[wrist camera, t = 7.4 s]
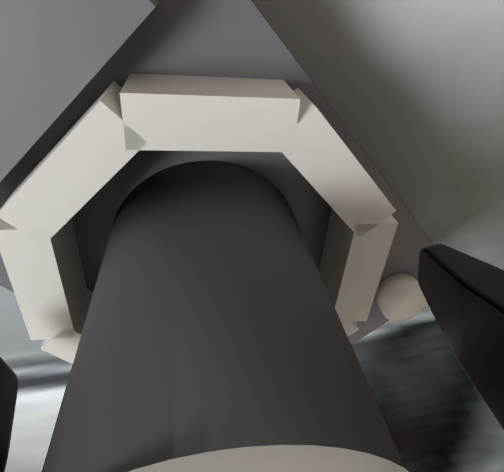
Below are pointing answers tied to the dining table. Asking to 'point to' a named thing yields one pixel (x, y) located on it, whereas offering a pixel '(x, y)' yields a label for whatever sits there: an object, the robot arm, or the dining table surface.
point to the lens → (214, 342)
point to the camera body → (176, 150)
